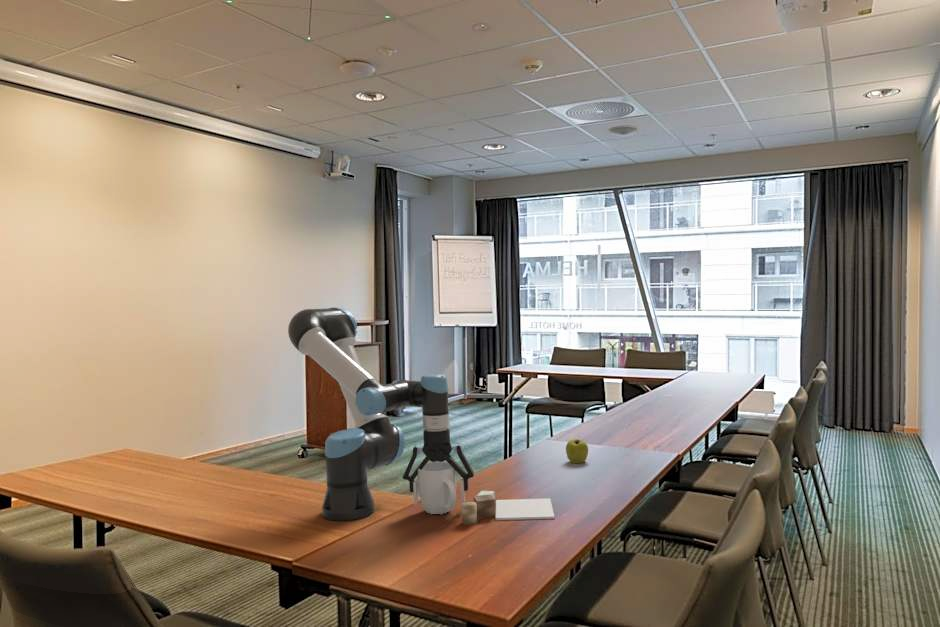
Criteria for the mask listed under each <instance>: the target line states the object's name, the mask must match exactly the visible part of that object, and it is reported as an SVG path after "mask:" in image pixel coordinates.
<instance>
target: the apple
mask: <svg viewBox="0 0 940 627" xmlns="http://www.w3.org/2000/svg"><path fill="white" fill-rule="evenodd" d="M565 454H566V457H567V459H568V460H569V462H570V463H573V464H577V463H578V464H581V463H584V462H585V461H586V460H587V458H588V455H589V446H588V444H587V443H586V442H585V441H584V440H583V439H580V436H578V438H574V439H570V440H569V441H568V442H567V443H566V446H565Z"/></svg>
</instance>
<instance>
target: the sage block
mask: <svg viewBox="0 0 940 627" xmlns="http://www.w3.org/2000/svg"><path fill="white" fill-rule="evenodd" d="M495 493H496V492H495V491H494V490H481V491H480V492H478V494H476V496H479V495H489V494H491V495H492V496H493V498H494V499H495V500H496V496H495Z"/></svg>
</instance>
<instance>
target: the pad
mask: <svg viewBox="0 0 940 627" xmlns="http://www.w3.org/2000/svg"><path fill="white" fill-rule="evenodd" d="M552 504H553V503H552V500H551V498H549V497H548V498H520V499H519V498H518V499H516V498H515V499H512V498H511V499H495V512H496V517H495V521H513V520H515V521H518V520H519V521H520V520H522V521H523V520H551V519H553V520H554V519H555V513H554V510H553V505H552Z"/></svg>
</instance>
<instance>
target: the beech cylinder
mask: <svg viewBox="0 0 940 627" xmlns="http://www.w3.org/2000/svg"><path fill="white" fill-rule="evenodd" d="M461 518H462V519H461V520H462V522H461V523H462V524H463V525H466V526H471V525H472V526H473V525H475V524H477V523H478V518H477V506H476V503H475V502H474V501H465V502H464V503H462V502H461Z"/></svg>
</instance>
